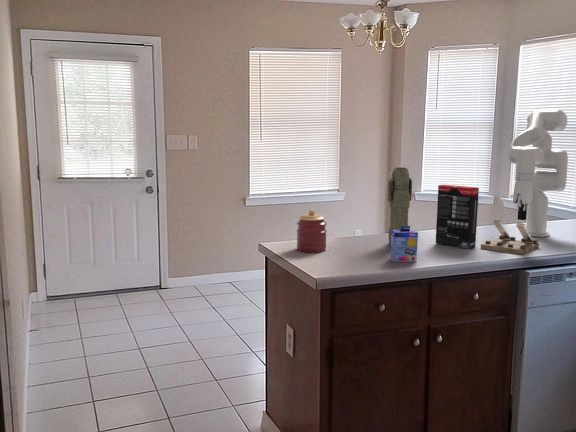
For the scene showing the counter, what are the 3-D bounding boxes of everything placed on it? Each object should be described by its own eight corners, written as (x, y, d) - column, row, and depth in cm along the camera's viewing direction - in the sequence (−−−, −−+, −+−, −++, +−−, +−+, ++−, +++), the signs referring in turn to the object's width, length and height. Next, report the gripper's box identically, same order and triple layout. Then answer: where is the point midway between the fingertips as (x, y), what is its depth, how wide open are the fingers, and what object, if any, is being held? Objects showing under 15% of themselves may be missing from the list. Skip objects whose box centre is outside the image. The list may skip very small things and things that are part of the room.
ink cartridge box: (393, 262, 224) (394, 226, 222) (389, 259, 229) (390, 224, 227) (417, 262, 225) (418, 226, 222) (413, 258, 230) (414, 223, 228)
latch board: (499, 241, 264) (499, 234, 263) (538, 247, 252) (539, 239, 251) (480, 248, 249) (481, 240, 249) (521, 254, 237) (522, 246, 237)
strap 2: (526, 241, 253) (526, 239, 254) (532, 242, 251) (533, 240, 252) (516, 225, 242) (517, 222, 243) (523, 226, 240) (524, 223, 241)
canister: (292, 251, 243) (292, 211, 240) (302, 245, 255) (302, 207, 252) (321, 254, 238) (321, 212, 236) (329, 247, 250) (330, 208, 248)
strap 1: (504, 238, 260) (504, 236, 261) (510, 239, 258) (511, 237, 259) (493, 222, 249) (494, 220, 250) (500, 223, 247) (501, 220, 248)
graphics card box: (476, 247, 252) (480, 186, 248) (469, 249, 247) (473, 187, 243) (441, 241, 264) (444, 183, 259) (434, 244, 259) (437, 184, 254)
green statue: (381, 244, 258) (383, 167, 252) (401, 241, 264) (403, 166, 258) (394, 247, 250) (397, 169, 245) (414, 245, 256) (417, 168, 251)
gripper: (522, 175, 248) (519, 216, 250) (509, 177, 237) (506, 220, 240) (540, 176, 243) (537, 218, 245) (527, 178, 232) (524, 222, 235)
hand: (521, 219), depth 243 cm, fingers closed
